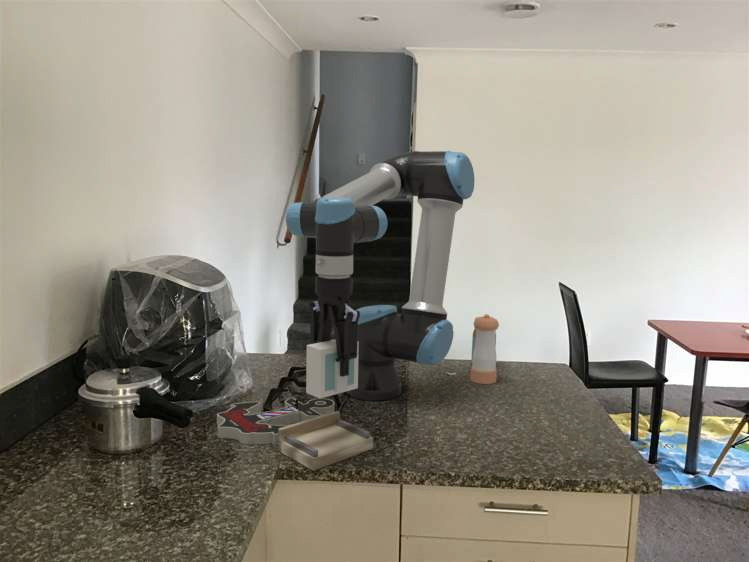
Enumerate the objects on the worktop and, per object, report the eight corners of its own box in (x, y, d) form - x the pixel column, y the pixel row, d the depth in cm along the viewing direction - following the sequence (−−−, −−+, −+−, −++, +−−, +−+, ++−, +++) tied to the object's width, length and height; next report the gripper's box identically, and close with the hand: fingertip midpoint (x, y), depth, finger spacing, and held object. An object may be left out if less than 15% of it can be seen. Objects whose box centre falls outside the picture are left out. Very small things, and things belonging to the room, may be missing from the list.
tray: (278, 451, 140) (278, 428, 139) (336, 431, 151) (337, 410, 150) (313, 470, 131) (313, 446, 130) (373, 448, 142) (373, 426, 141)
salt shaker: (470, 375, 194) (473, 311, 191) (495, 377, 193) (499, 312, 190) (470, 383, 187) (473, 316, 183) (496, 385, 186) (500, 318, 182)
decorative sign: (197, 411, 155) (308, 387, 172) (198, 423, 155) (308, 398, 173) (239, 443, 137) (358, 414, 155) (239, 457, 138) (358, 425, 155)
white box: (306, 392, 135) (306, 345, 134) (343, 382, 142) (344, 337, 140) (320, 398, 132) (320, 350, 130) (358, 388, 139) (358, 341, 137)
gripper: (292, 271, 137) (292, 380, 141) (348, 283, 124) (346, 402, 128) (321, 268, 142) (320, 373, 146) (378, 279, 129) (375, 394, 133)
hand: (332, 386), depth 137 cm, fingers closed on white box, 5 cm apart
